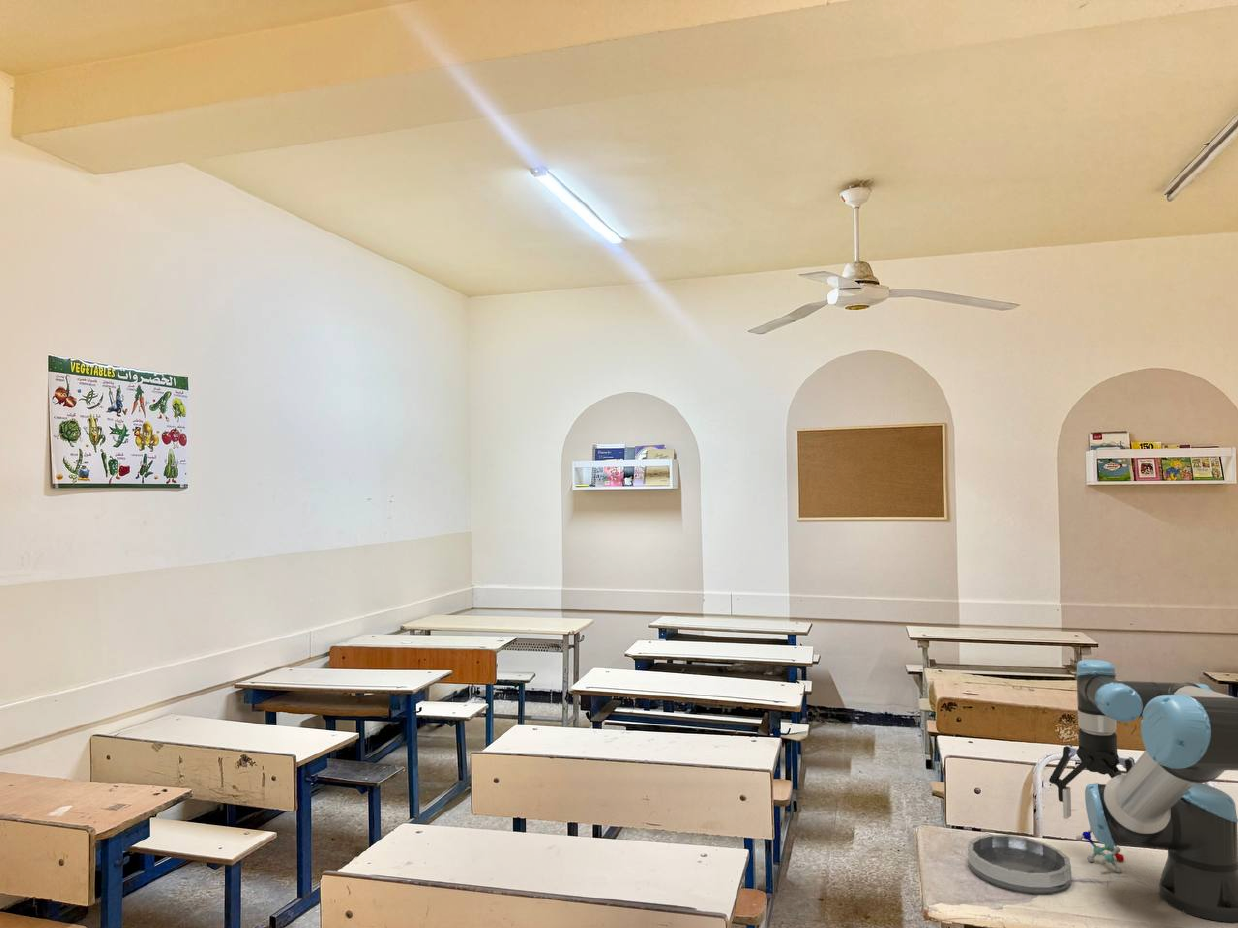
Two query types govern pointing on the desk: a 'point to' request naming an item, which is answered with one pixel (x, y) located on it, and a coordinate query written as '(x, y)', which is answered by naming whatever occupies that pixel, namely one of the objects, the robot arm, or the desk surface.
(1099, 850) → the molecular model
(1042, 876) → the shallow grey dish
